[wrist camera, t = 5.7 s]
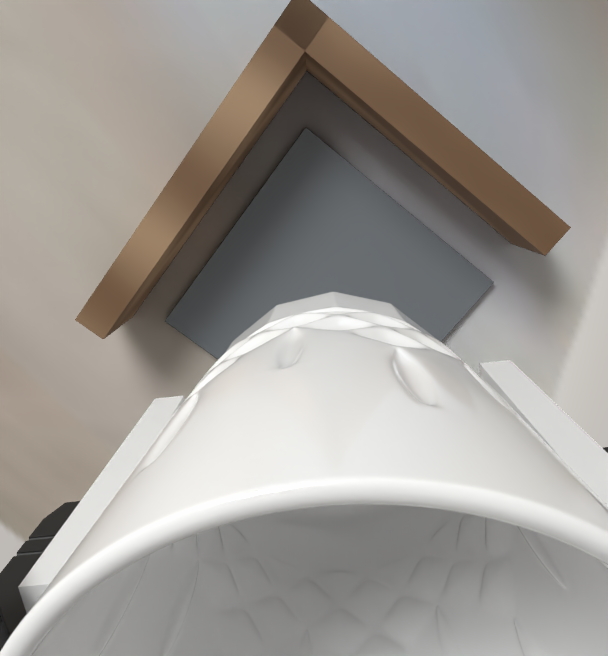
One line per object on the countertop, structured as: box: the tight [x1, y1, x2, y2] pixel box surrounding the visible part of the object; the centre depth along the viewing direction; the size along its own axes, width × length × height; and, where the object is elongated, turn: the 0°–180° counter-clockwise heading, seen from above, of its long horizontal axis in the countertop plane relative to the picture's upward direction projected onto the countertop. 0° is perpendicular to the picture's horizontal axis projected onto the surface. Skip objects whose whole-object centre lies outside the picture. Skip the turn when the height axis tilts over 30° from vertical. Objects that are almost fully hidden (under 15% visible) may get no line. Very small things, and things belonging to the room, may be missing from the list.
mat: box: [165, 128, 494, 359], centre depth 28 cm, size 12×12×1 cm
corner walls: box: [75, 0, 571, 339], centre depth 25 cm, size 16×14×4 cm
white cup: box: [0, 292, 608, 656], centre depth 10 cm, size 8×8×10 cm
